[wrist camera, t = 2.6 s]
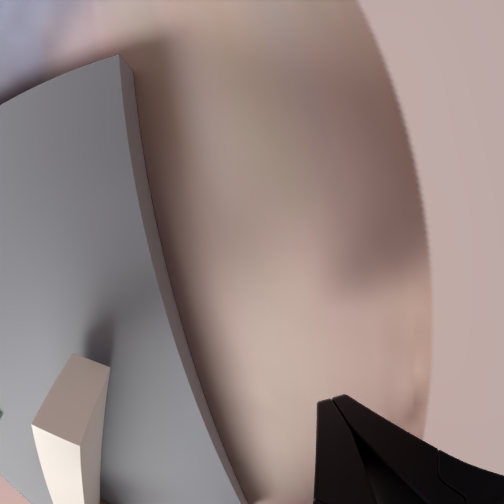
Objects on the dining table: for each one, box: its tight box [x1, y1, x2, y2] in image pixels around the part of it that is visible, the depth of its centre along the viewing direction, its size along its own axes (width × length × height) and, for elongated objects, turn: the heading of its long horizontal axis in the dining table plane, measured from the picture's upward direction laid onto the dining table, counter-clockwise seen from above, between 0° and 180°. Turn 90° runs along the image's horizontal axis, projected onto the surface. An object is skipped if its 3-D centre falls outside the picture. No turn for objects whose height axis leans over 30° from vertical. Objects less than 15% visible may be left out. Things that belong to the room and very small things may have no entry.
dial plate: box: [0, 54, 248, 504], centre depth 9 cm, size 22×16×2 cm
